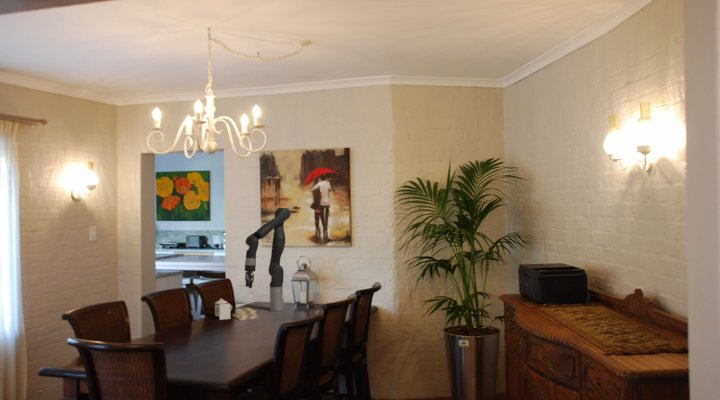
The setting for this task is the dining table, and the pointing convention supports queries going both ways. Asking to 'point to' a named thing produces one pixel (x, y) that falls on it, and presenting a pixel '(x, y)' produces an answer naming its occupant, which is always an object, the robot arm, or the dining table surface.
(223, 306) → the tile
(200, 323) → the dining table surface
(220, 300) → the teacup with lid
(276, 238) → the robot arm
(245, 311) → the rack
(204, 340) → the dining table surface
